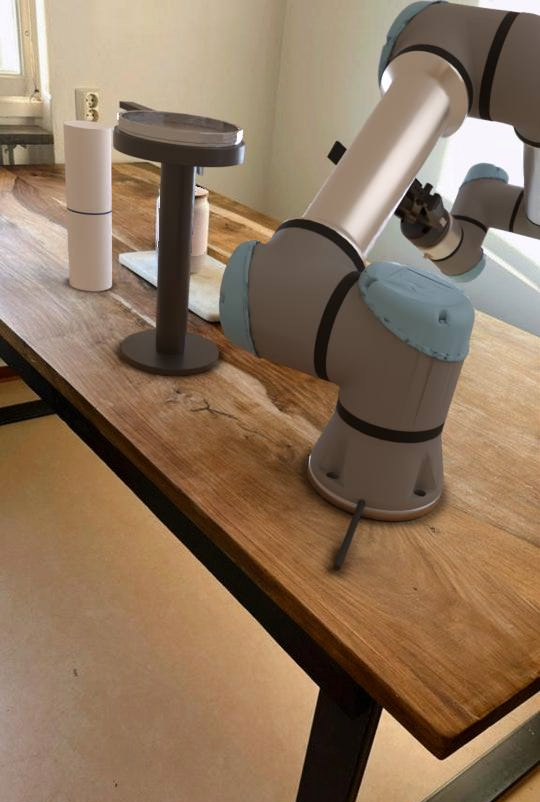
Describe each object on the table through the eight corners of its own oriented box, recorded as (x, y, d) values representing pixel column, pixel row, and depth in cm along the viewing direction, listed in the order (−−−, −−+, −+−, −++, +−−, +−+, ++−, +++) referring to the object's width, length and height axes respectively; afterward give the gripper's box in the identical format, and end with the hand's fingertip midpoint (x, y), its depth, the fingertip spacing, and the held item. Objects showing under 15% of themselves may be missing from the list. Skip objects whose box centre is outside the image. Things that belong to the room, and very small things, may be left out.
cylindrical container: (70, 290, 116) (63, 126, 103) (68, 276, 122) (62, 118, 108) (113, 291, 119) (113, 130, 105) (110, 277, 124) (109, 123, 110)
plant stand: (169, 310, 114) (178, 103, 97) (246, 368, 100) (272, 136, 83) (76, 322, 106) (68, 97, 89) (145, 387, 91) (150, 132, 74)
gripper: (472, 271, 110) (406, 204, 95) (369, 227, 126) (298, 163, 111) (500, 228, 109) (437, 153, 93) (392, 189, 125) (323, 119, 109)
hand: (361, 158), depth 102 cm, fingers open, 13 cm apart
